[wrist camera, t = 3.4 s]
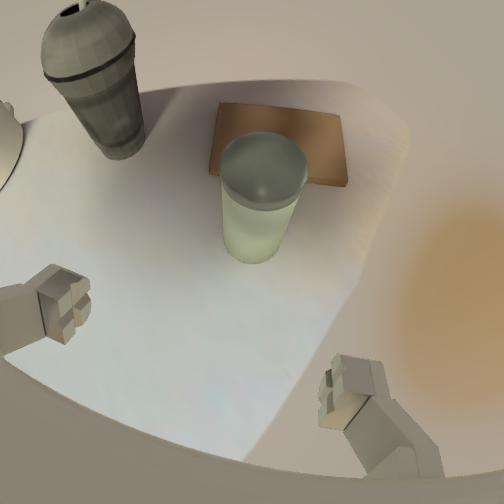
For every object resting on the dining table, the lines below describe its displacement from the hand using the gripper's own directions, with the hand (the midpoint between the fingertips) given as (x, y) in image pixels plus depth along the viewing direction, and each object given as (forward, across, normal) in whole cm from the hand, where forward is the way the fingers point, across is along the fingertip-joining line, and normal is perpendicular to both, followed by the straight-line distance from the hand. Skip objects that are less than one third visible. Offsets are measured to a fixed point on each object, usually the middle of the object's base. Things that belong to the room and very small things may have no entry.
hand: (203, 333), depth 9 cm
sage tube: (+16, 0, +3) cm, 17 cm away
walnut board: (+23, 0, -4) cm, 23 cm away
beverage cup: (+21, +15, -1) cm, 25 cm away
